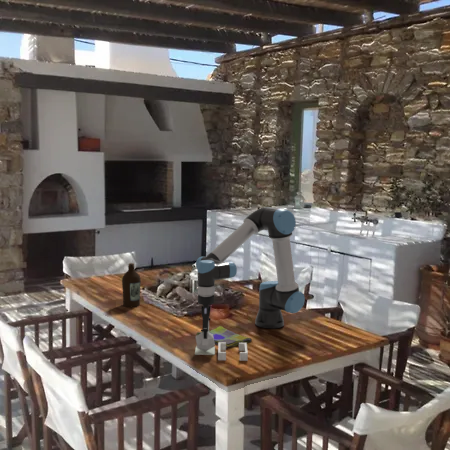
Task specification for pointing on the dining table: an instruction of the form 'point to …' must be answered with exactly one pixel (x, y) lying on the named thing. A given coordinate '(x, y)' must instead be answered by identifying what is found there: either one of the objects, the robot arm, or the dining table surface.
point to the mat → (208, 352)
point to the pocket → (241, 348)
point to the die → (205, 347)
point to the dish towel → (227, 337)
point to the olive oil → (131, 287)
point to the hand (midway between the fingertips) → (205, 339)
